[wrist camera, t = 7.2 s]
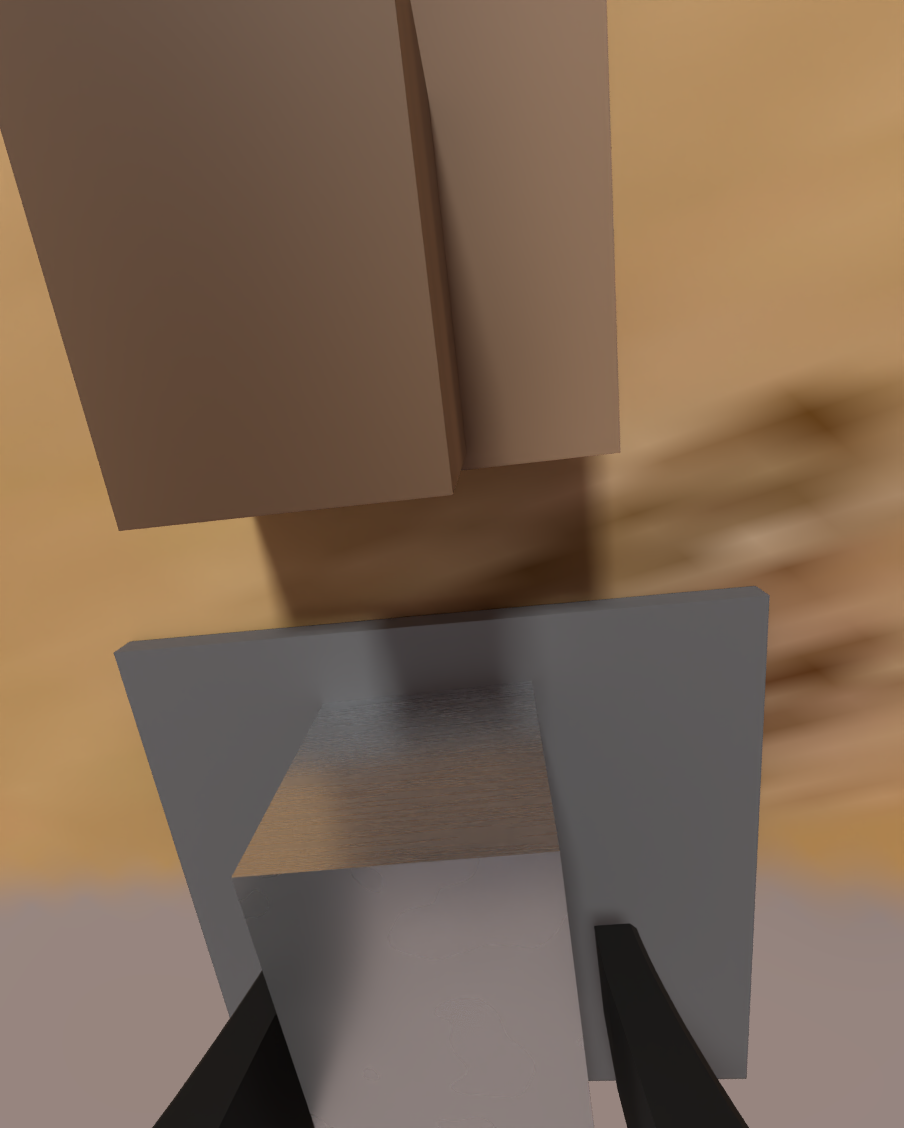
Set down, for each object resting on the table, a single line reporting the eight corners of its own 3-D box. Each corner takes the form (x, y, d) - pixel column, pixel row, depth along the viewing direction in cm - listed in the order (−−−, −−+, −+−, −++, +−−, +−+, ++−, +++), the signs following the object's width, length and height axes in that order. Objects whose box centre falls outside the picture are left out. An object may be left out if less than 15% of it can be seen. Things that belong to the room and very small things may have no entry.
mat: (755, 586, 10) (769, 595, 9) (736, 1053, 13) (746, 1078, 13) (129, 641, 11) (113, 653, 10) (259, 1062, 14) (251, 1085, 14)
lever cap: (531, 680, 10) (559, 851, 6) (572, 997, 12) (611, 1264, 9) (322, 704, 11) (231, 878, 7) (398, 1007, 13) (361, 1267, 9)
